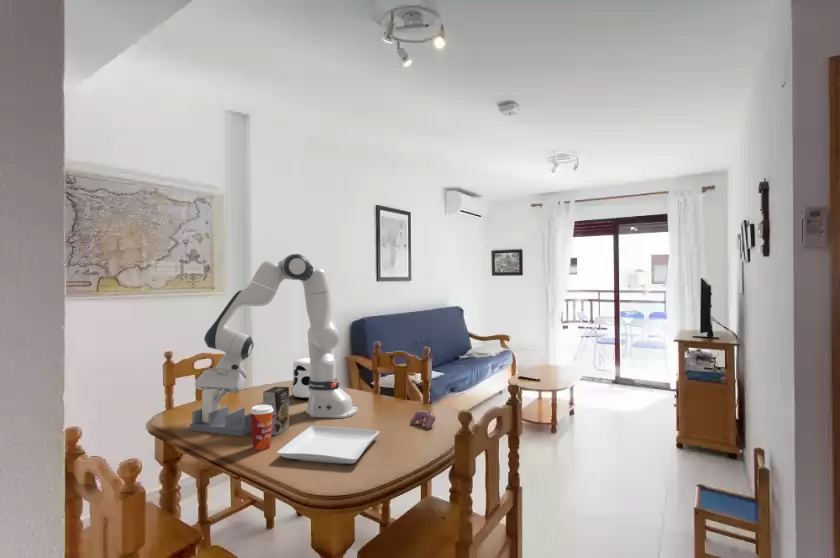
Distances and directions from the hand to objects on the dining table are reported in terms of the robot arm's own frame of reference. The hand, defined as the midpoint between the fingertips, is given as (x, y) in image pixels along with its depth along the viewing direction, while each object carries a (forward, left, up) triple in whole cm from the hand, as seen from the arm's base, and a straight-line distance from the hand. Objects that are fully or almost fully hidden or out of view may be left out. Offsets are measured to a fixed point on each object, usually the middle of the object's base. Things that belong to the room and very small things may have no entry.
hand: (209, 399), depth 174 cm
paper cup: (-32, +12, -11) cm, 37 cm away
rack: (-7, -1, -11) cm, 13 cm away
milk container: (-14, -52, -11) cm, 55 cm away
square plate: (-56, +7, -11) cm, 58 cm away
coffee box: (-27, -4, -11) cm, 30 cm away
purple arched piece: (-80, -26, -11) cm, 85 cm away
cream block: (0, -1, -8) cm, 8 cm away
